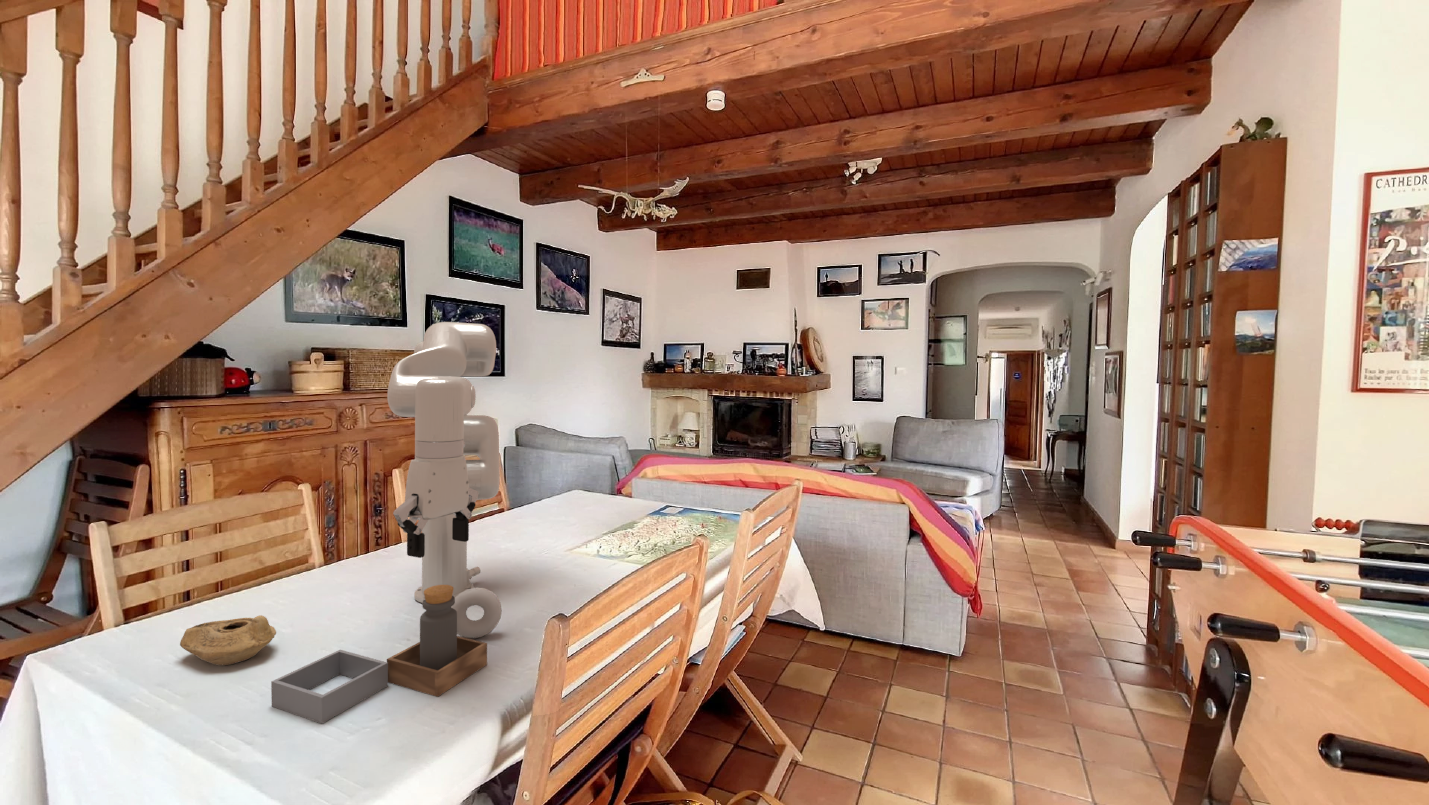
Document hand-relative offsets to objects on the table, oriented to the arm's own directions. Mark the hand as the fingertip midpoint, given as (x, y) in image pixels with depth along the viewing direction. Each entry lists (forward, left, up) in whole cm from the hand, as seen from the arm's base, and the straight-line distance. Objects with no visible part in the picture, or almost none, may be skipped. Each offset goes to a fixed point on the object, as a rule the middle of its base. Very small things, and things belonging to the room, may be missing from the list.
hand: (439, 548), depth 99 cm
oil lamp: (+11, -38, -23) cm, 46 cm away
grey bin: (+12, -10, -22) cm, 27 cm away
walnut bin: (0, 0, -22) cm, 22 cm away
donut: (-13, -4, -22) cm, 26 cm away
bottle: (0, 0, -22) cm, 22 cm away
